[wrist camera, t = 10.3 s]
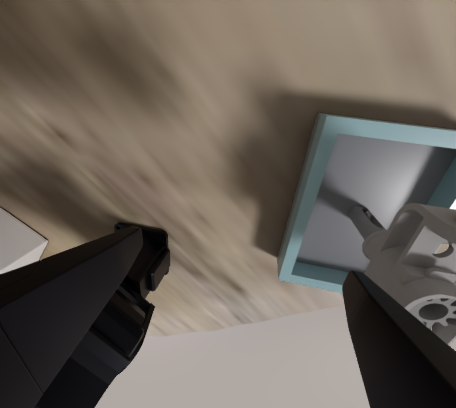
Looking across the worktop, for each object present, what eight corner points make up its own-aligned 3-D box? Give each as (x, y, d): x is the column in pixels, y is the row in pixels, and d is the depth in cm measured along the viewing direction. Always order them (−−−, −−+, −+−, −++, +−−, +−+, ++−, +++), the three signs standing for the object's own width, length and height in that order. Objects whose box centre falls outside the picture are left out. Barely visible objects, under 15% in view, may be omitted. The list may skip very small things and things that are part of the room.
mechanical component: (405, 158, 16) (570, 232, 7) (354, 261, 21) (415, 382, 12) (364, 152, 16) (473, 217, 8) (322, 255, 21) (359, 369, 12)
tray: (277, 258, 24) (278, 279, 21) (317, 112, 17) (326, 115, 14) (382, 279, 22) (398, 305, 20) (471, 131, 16) (516, 138, 13)
